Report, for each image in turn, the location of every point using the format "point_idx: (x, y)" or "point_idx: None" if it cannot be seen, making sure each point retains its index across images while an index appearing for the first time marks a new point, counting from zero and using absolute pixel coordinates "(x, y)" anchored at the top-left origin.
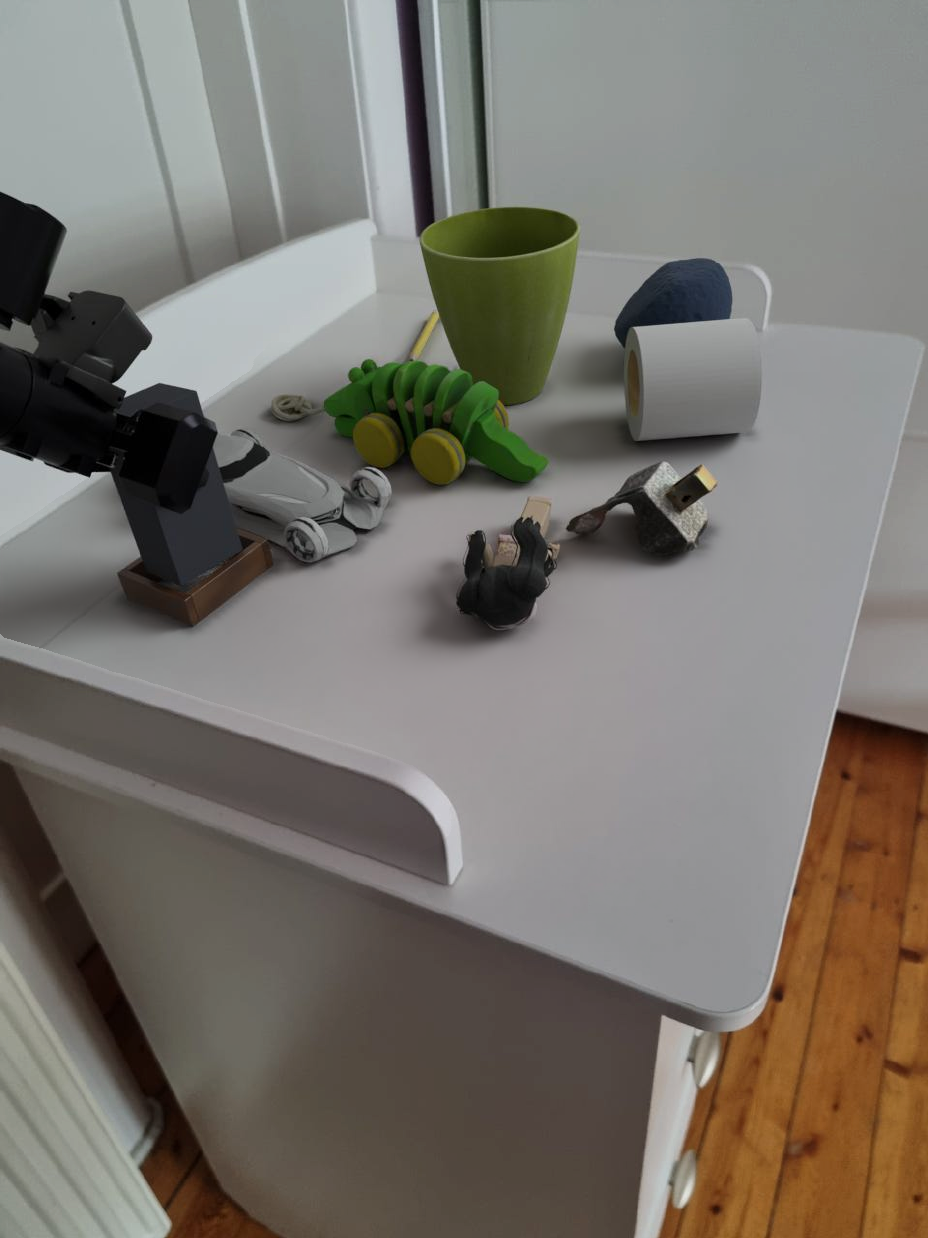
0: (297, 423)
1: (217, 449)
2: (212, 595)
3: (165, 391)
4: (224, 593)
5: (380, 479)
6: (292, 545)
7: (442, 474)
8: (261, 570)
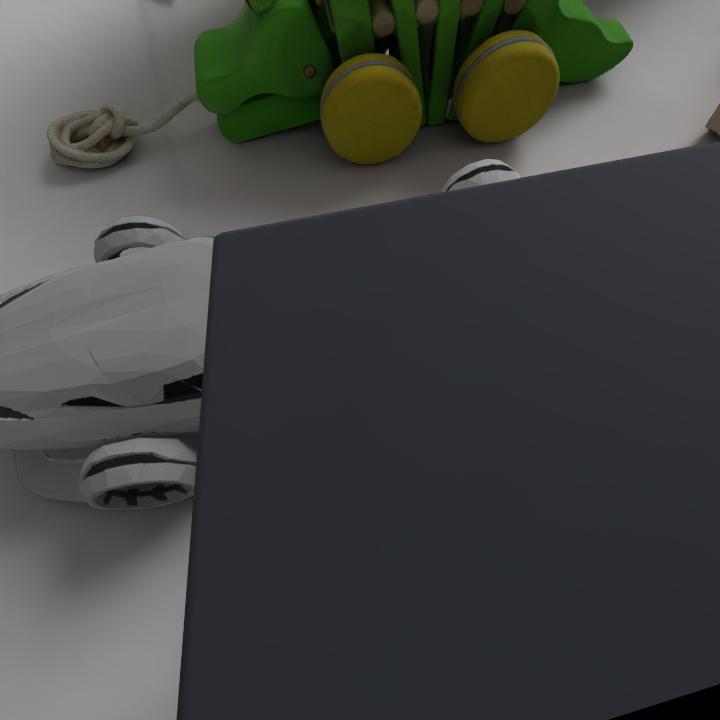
0: (131, 161)
1: (174, 305)
2: None
3: (527, 293)
4: None
5: (517, 175)
6: None
7: (525, 118)
8: None
